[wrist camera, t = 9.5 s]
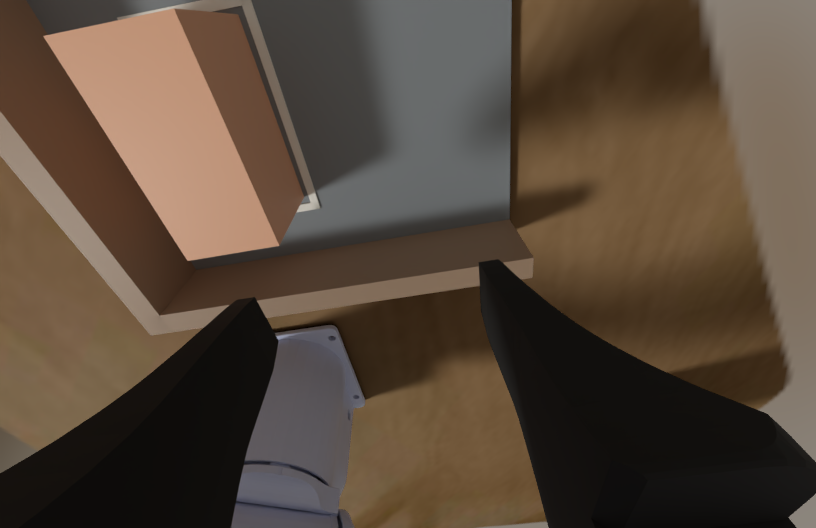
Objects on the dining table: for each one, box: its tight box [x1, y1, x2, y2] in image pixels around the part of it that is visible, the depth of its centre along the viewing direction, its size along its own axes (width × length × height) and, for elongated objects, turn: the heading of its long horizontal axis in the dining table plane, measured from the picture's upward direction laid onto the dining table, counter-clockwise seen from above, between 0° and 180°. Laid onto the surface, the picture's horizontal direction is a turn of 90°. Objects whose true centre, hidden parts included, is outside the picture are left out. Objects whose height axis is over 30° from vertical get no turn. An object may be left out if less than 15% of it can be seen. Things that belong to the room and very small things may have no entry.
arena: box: [0, 0, 534, 335], centre depth 15 cm, size 16×20×4 cm
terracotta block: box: [43, 9, 304, 261], centre depth 14 cm, size 8×4×5 cm, turn 9°
